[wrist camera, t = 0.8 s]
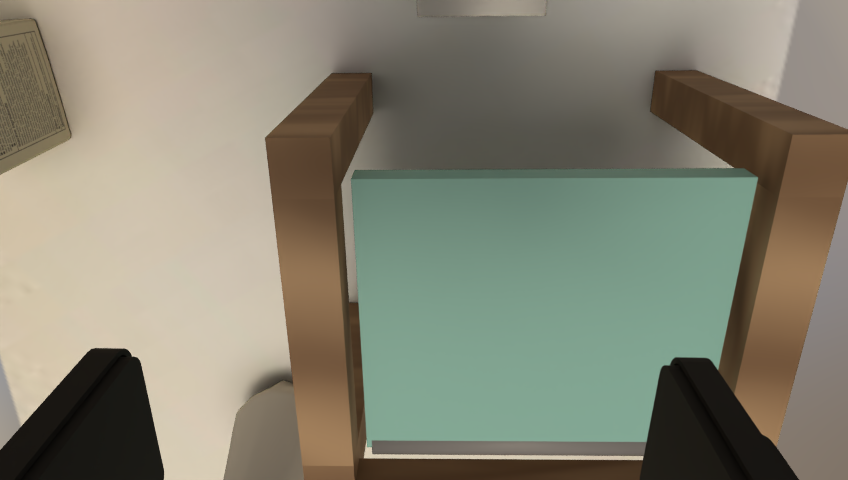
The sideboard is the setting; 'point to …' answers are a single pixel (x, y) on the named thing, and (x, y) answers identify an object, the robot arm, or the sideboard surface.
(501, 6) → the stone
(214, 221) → the sideboard surface
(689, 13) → the sideboard surface
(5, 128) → the skincare box
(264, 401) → the salt shaker
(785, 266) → the frame
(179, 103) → the sideboard surface
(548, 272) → the trapdoor
